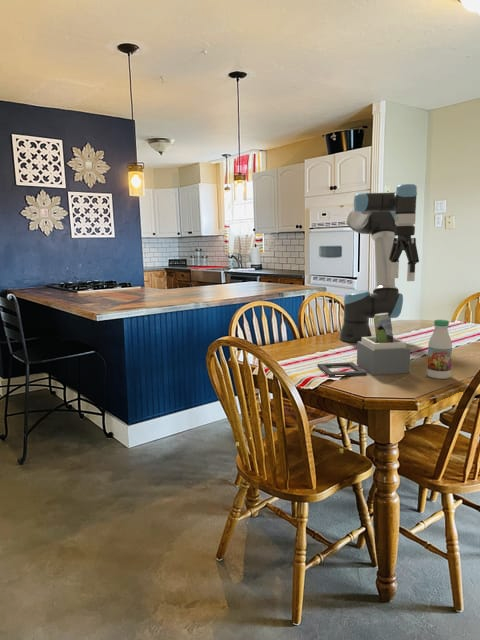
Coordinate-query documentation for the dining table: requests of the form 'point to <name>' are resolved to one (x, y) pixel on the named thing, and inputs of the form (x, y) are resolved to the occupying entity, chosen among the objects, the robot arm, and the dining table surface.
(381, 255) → the robot arm
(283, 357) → the dining table surface
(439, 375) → the milk bottle
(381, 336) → the beverage can
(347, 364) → the gray square frame
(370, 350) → the tray
